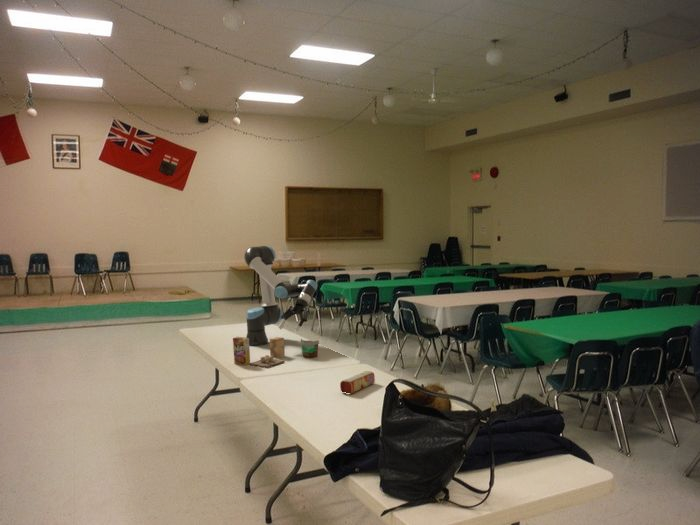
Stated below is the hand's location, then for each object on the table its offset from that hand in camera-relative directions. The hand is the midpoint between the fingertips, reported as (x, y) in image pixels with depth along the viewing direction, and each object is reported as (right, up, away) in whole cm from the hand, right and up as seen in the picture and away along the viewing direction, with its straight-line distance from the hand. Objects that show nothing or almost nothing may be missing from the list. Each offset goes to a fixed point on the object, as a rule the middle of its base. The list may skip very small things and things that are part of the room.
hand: (287, 329), depth 337 cm
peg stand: (-9, -17, -24) cm, 31 cm away
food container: (+13, -15, -12) cm, 23 cm away
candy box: (-24, -17, -22) cm, 37 cm away
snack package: (+42, -19, -76) cm, 89 cm away
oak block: (-5, -15, -7) cm, 18 cm away
